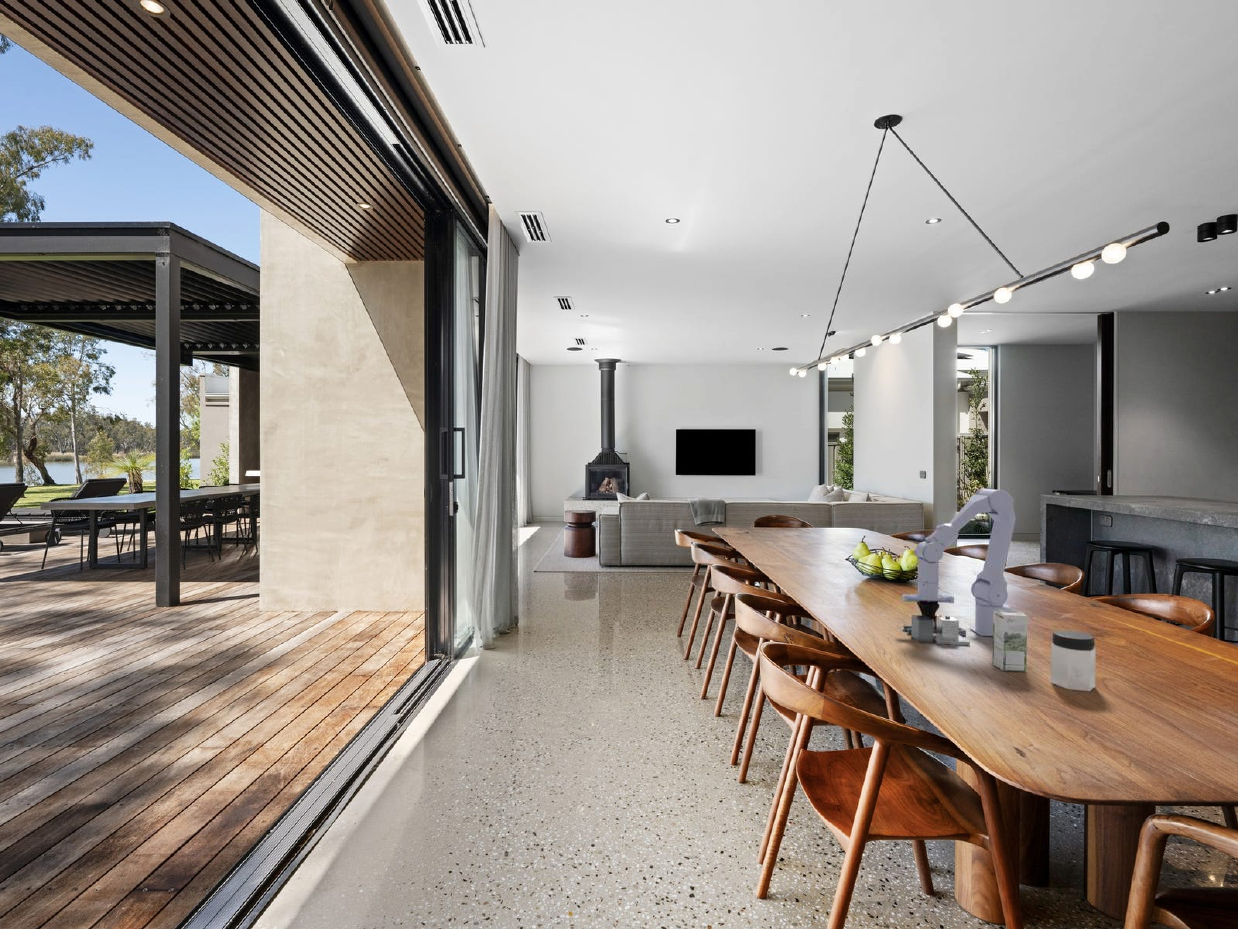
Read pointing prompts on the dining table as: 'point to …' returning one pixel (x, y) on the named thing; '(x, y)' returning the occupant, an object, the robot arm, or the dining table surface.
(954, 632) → the block
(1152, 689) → the dining table surface
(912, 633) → the press
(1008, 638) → the syrup box
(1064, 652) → the jar
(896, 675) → the dining table surface
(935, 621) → the lever
